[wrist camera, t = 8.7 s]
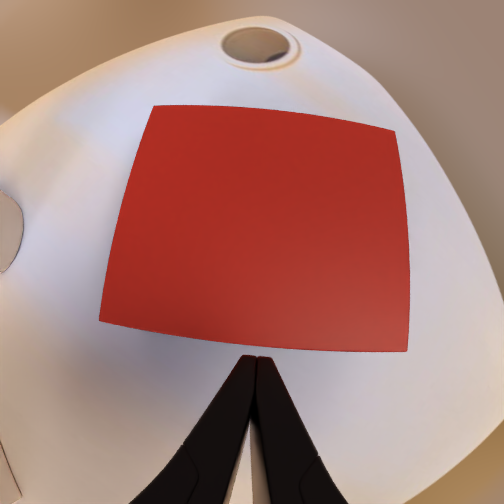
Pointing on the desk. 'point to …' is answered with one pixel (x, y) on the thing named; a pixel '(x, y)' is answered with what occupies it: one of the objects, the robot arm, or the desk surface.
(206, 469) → the robot arm
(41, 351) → the desk surface
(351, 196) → the lid
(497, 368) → the desk surface
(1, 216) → the pill bottle
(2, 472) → the container
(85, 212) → the desk surface
